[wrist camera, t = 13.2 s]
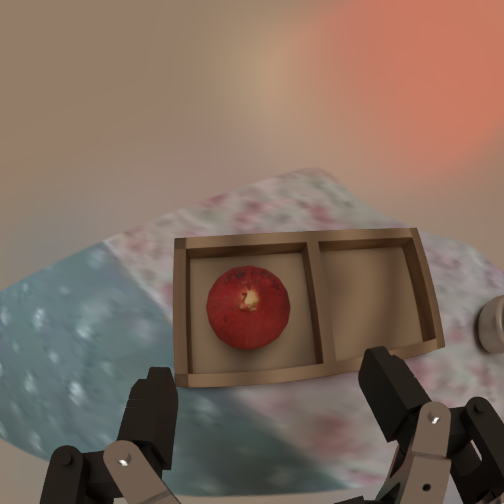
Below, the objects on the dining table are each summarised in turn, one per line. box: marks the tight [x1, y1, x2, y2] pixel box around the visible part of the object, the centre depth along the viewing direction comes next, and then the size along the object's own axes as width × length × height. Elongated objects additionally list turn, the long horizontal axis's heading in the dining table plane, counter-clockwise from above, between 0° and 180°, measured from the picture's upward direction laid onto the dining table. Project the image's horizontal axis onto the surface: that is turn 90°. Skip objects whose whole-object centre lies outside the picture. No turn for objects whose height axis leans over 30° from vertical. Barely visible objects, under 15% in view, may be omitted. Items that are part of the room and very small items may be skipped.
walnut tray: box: [173, 228, 445, 387], centre depth 23 cm, size 23×12×3 cm, turn 94°
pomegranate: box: [206, 265, 291, 350], centre depth 19 cm, size 6×6×8 cm
